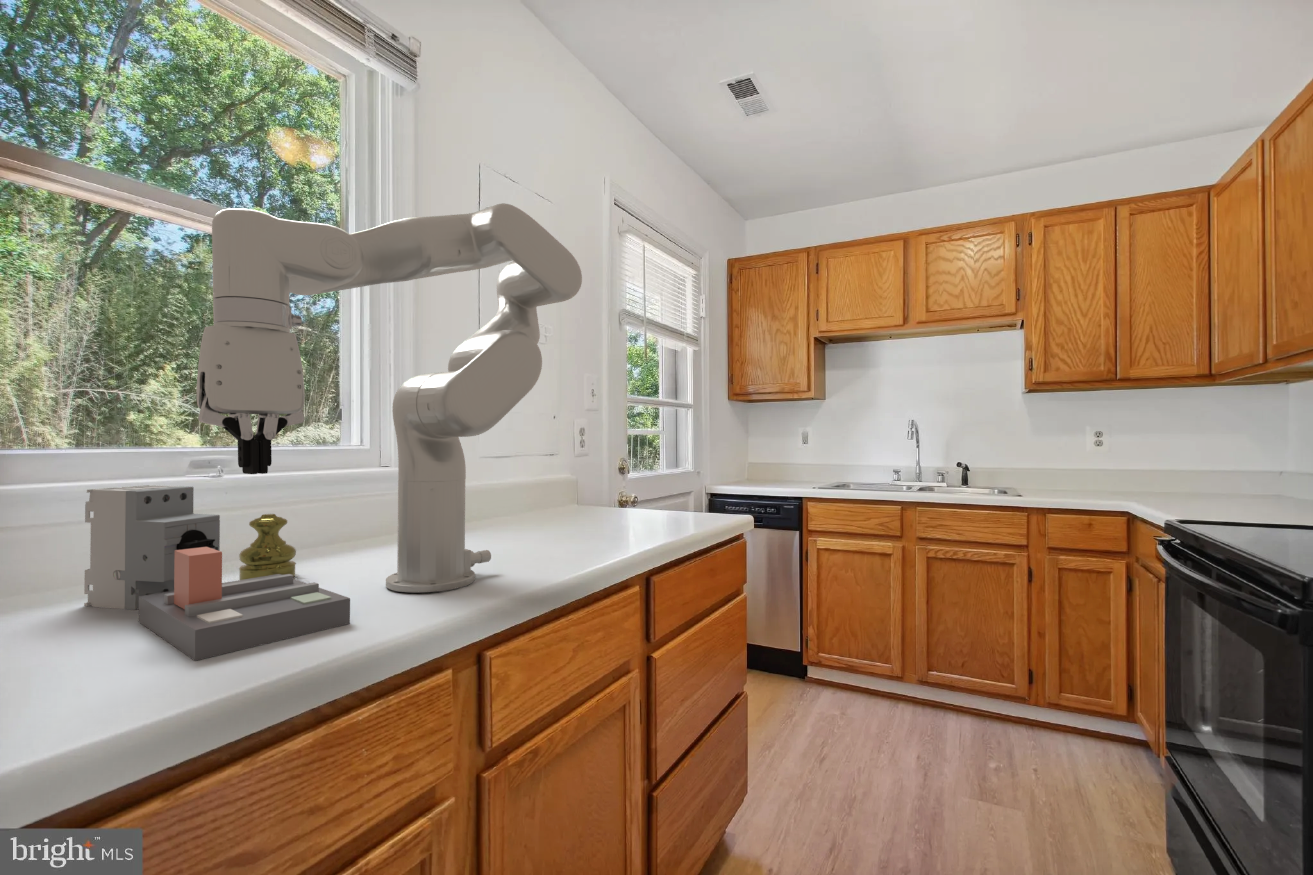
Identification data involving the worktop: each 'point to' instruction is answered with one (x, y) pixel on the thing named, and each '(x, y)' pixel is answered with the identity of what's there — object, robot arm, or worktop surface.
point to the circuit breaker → (141, 541)
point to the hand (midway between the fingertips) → (255, 473)
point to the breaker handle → (197, 576)
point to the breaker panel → (244, 615)
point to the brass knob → (267, 550)
